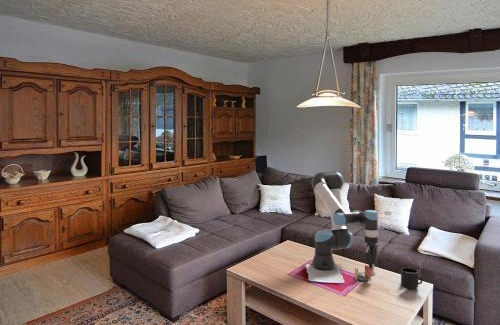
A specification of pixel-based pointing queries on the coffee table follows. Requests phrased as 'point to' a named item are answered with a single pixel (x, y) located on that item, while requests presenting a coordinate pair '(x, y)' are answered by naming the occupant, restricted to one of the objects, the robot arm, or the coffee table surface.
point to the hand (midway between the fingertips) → (371, 274)
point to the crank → (366, 273)
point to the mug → (410, 278)
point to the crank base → (357, 277)
